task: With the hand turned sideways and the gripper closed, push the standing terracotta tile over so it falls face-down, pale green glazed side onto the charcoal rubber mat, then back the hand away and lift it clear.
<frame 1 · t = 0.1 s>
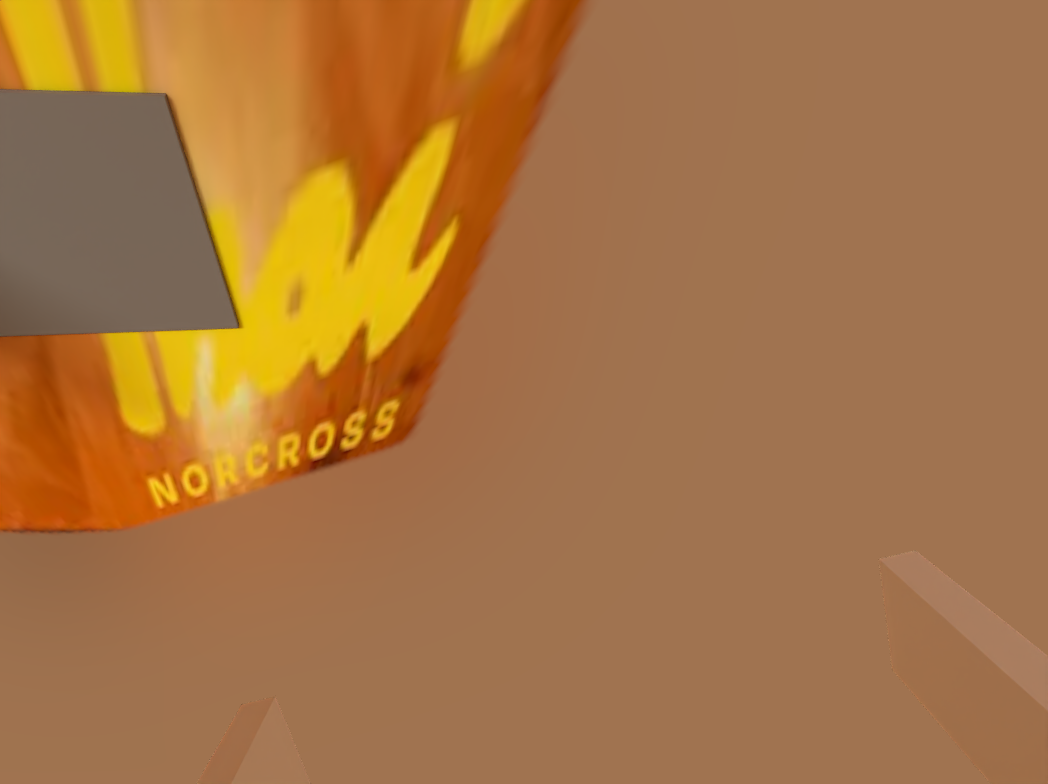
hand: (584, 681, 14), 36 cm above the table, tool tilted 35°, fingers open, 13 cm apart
rubber mat: (9, 228, 42), on the table
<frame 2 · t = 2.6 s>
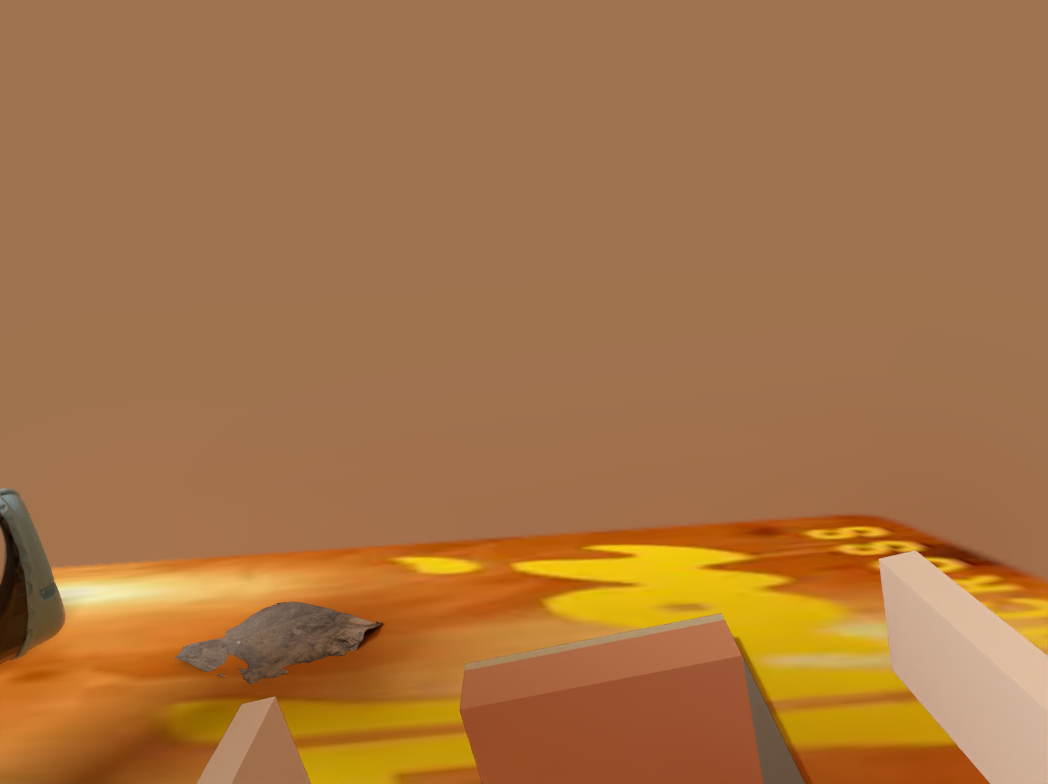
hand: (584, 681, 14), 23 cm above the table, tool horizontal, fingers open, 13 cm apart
stone slab: (281, 650, 60), on the table
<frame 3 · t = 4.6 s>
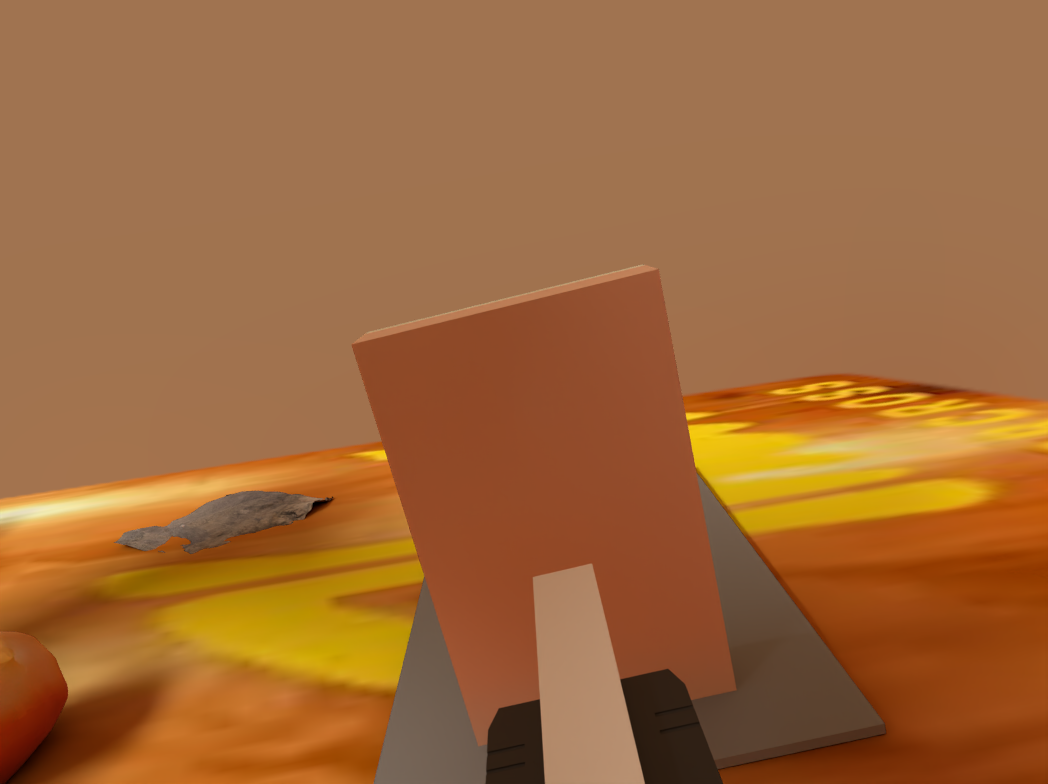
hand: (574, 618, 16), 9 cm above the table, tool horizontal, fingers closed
stone slab: (227, 531, 57), on the table
terracotta tile: (602, 695, 25), resting on rubber mat
rubber mat: (582, 592, 33), on the table
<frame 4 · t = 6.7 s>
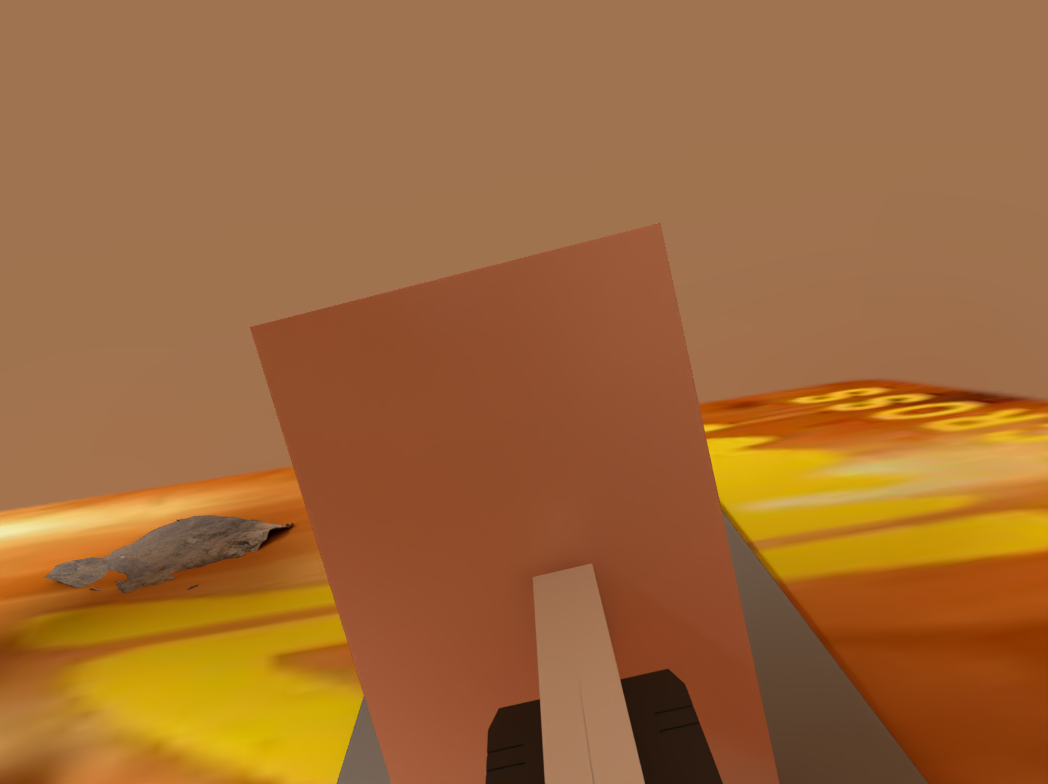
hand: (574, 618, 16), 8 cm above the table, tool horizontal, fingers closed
stone slab: (173, 564, 50), on the table
rubber mat: (575, 658, 26), on the table
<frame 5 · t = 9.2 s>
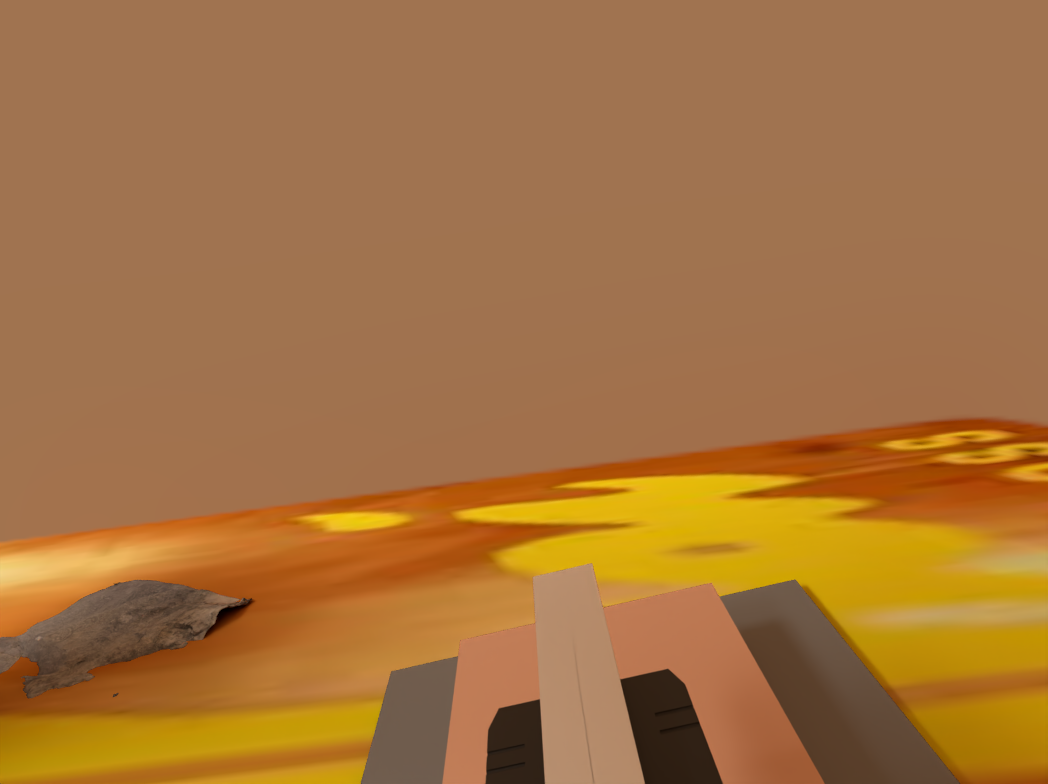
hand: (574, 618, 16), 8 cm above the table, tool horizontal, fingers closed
stone slab: (100, 648, 40), on the table
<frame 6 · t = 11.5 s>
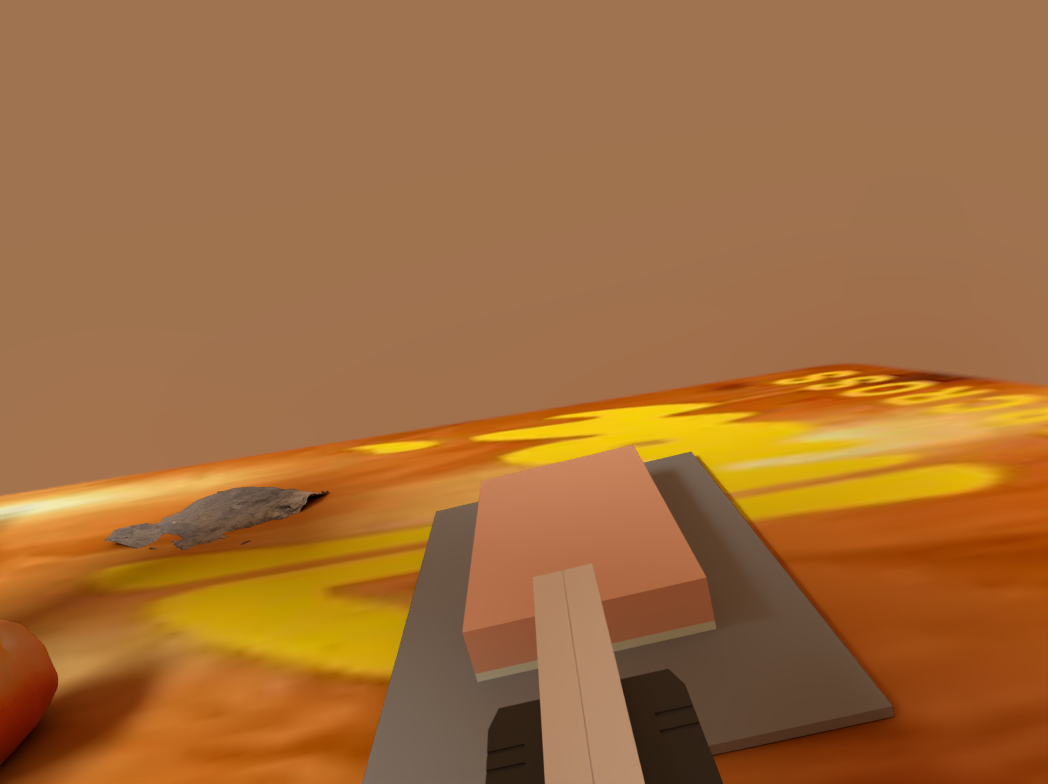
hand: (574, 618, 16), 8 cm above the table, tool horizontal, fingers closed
stone slab: (220, 527, 56), on the table
terracotta tile: (589, 630, 26), point 2 cm above the table, tilted 90°, touching rubber mat
rubber mat: (581, 579, 33), on the table
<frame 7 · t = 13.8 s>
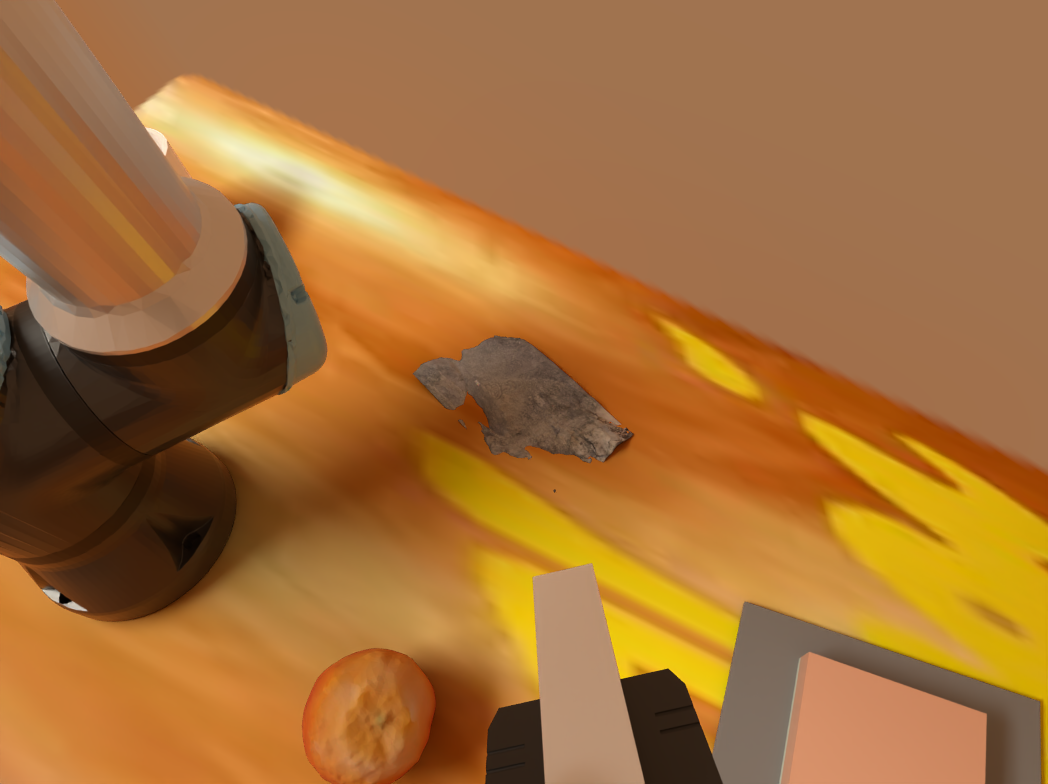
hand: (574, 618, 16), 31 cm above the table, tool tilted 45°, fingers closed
stone slab: (519, 409, 56), on the table
fruit: (385, 721, 44), on the table
mug: (181, 243, 71), on the table
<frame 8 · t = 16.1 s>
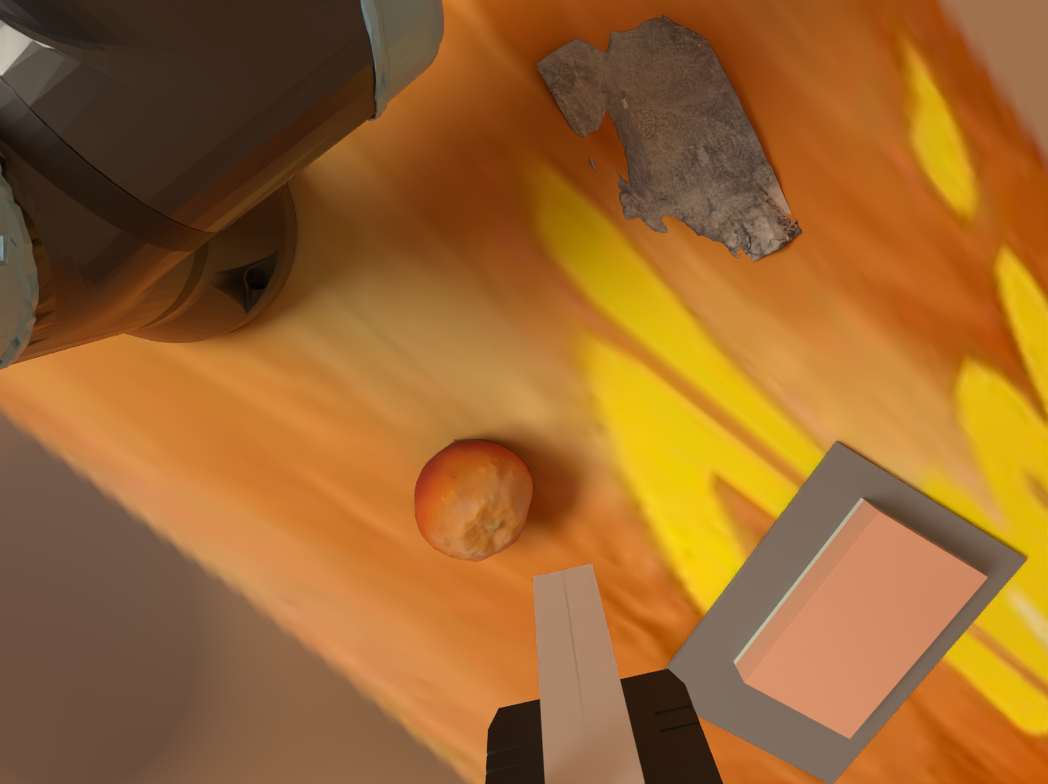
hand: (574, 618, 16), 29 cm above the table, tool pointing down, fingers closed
stone slab: (669, 153, 42), on the table
terracotta tile: (791, 699, 50), point 2 cm above the table, tilted 90°, touching rubber mat
fruit: (476, 478, 47), on the table
rubber mat: (832, 623, 50), on the table
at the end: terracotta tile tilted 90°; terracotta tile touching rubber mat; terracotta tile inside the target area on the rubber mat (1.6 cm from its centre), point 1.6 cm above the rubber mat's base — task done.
